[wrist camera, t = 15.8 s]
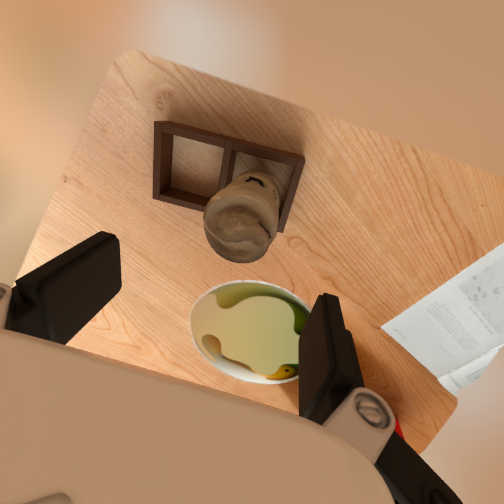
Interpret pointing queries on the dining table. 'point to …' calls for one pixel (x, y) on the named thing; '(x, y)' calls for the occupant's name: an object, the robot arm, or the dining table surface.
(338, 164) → the dining table surface
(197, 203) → the socket block
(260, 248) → the light bulb
